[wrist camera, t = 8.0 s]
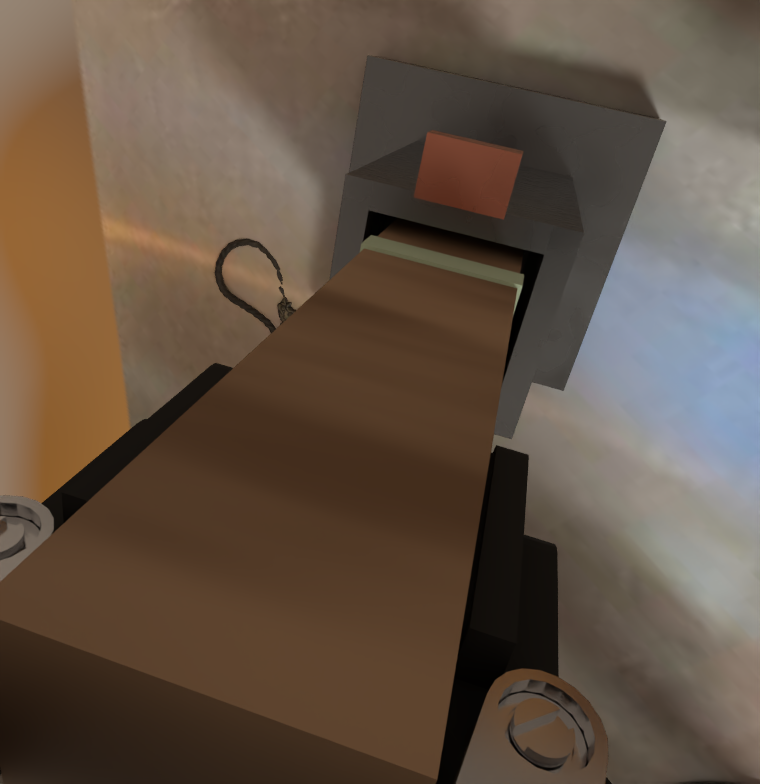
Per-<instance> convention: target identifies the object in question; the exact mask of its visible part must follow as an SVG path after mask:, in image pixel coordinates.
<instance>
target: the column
mask: <svg viewBox="0 0 760 784" xmlns="http://www.w3.org/2000/svg"><path fill="white" fill-rule="evenodd" d="M523 252H524V249H520V248H516V247H512V246H508V245H504V244H500V243H496V242H492V241H488V240H484V239H480V238H476V237H472V236H468V235H464V234H461V233H457V232H453V231H449V230H445V229H441V228H437V227H433V226H429V225H425V224H421V223H417V222H413V221H409V220H405V219H401V218H397V219H396V220H395V221H394V222H393V223H392V224H390V225H389V226H388V227H387V228H386V229H385V230H384V231H383V232H382V233H381V234H379V235H378V236H373V235H371V236H369V237H368V238H367V239H366V240H365V241H364V242H363V243H361V248H360V253H359V254H358V255H357V256H355V257H354V258H353V259H352V260H351V261H350V262H349V263H348V264H347V265H346V266H345V267H343V268H342V269H341V270H340V271H339V272H338V273H337V274H336V275H335V276H334V277H333V278H331V279H330V280H329V281H328V282H327V283H326V284H325V285H324V286H323V287H322V288H320V289H319V290H318V291H317V292H316V293H315V294H314V295H313V296H312V297H311V298H310V299H308V300H307V301H306V302H305V303H304V304H303V305H302V306H301V307H300V308H299V309H298V310H296V311H295V312H294V313H293V314H292V315H291V316H290V317H289V318H288V319H287V320H286V321H284V322H283V323H282V324H281V325H280V326H279V327H278V328H277V329H276V330H275V331H274V332H272V333H271V334H270V335H269V336H268V337H267V338H266V339H265V340H264V341H263V342H261V343H260V344H259V345H258V346H257V347H256V348H255V349H254V350H253V351H252V352H251V353H249V354H248V355H247V356H246V357H245V358H244V359H243V360H242V361H241V362H240V363H239V364H237V365H236V366H235V367H234V368H233V369H232V370H231V371H230V372H229V373H228V374H227V375H225V376H224V377H223V378H222V379H221V380H220V381H219V382H218V383H217V384H216V385H214V386H213V387H212V388H211V389H210V390H209V391H208V392H207V393H206V394H205V395H204V396H202V397H201V398H200V399H199V400H198V401H197V402H196V403H195V404H194V405H193V406H192V407H190V408H189V409H188V410H187V411H186V412H185V413H184V414H183V415H182V416H181V417H180V418H178V419H177V420H176V421H175V422H174V423H173V424H172V425H171V426H170V427H169V428H168V429H166V430H165V431H164V432H163V433H162V434H161V435H160V436H159V437H158V438H157V439H155V440H154V441H153V442H152V443H151V444H150V445H149V446H148V447H147V448H146V449H145V450H143V451H142V452H141V453H140V454H139V455H138V456H137V457H136V458H135V459H134V460H133V461H131V462H130V463H129V464H128V465H127V466H126V467H125V468H124V469H123V470H122V471H121V472H119V473H118V474H117V475H116V476H115V477H114V478H113V479H112V480H111V481H110V482H109V483H107V484H106V485H105V486H104V487H103V488H102V489H101V490H100V491H99V492H98V493H96V494H95V495H94V496H93V497H92V498H91V499H90V500H89V501H88V502H87V503H86V504H84V505H83V506H82V507H81V508H80V509H79V510H78V511H77V512H76V513H75V514H74V515H72V516H71V517H70V518H69V519H68V520H67V521H66V522H65V523H64V524H63V525H62V526H60V527H59V528H58V529H57V530H56V531H55V532H54V533H53V534H52V535H51V536H49V537H48V538H47V539H46V540H45V541H44V542H43V543H42V544H41V545H40V546H39V547H37V548H36V549H35V550H34V551H33V552H32V553H31V554H30V555H29V556H28V557H27V558H25V559H24V560H23V561H22V562H21V563H20V564H19V565H18V566H17V567H16V568H15V569H13V570H12V571H11V572H10V573H9V574H8V575H7V576H6V577H5V578H4V579H3V580H1V581H0V768H1V774H2V779H3V784H436V782H437V778H438V772H439V766H440V760H441V754H442V748H443V742H444V735H445V729H446V723H447V717H448V711H449V705H450V699H451V693H452V686H453V680H454V674H455V668H456V662H457V656H458V650H459V644H460V637H461V631H462V625H463V619H464V613H465V607H466V601H467V595H468V588H469V582H470V576H471V570H472V564H473V558H474V552H475V546H476V539H477V533H478V527H479V521H480V515H481V509H482V503H483V497H484V491H485V484H486V478H487V472H488V466H489V460H490V454H491V448H492V442H493V435H494V429H495V423H496V417H497V411H498V405H499V399H500V393H501V386H502V380H503V374H504V368H505V362H506V356H507V350H508V344H509V337H510V331H511V325H512V319H513V315H514V311H515V308H516V305H517V302H518V299H519V296H520V292H521V289H522V286H523V280H524V274H520V270H521V264H522V258H523Z"/></svg>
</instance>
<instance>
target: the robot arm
mask: <svg viewBox="0 0 760 784" xmlns="http://www.w3.org/2000/svg"><path fill="white" fill-rule="evenodd" d="M232 369H233V368H231V367H228V366H225V365H221V364H218V363H214V364H213V365H211V366H210V367H209V368H207V369H206V370H205V371H204V372H203V373H202V374H200V375H199V376H198V377H197V378H196V379H194V380H193V381H192V382H191V383H190V384H189V385H187V386H186V387H185V388H184V389H183V390H182V391H180V392H179V393H178V394H177V395H176V396H174V397H173V398H172V399H171V400H170V401H169V402H167V403H166V404H165V405H164V406H163V407H161V408H160V409H159V410H158V411H157V412H156V413H154V414H153V415H152V416H151V417H150V418H148V419H144V420H142V421H140V422H139V423H137V424H136V425H135V426H134V427H132V428H131V429H130V430H129V431H128V432H126V433H125V434H124V435H123V436H122V437H120V438H119V439H118V440H117V441H116V442H114V443H113V444H112V445H111V446H110V447H108V448H107V449H106V450H105V451H104V452H102V453H101V454H100V455H99V456H98V457H96V458H95V459H94V460H93V461H92V462H90V463H89V464H88V465H87V466H86V467H84V468H83V469H82V470H81V471H80V472H79V473H77V474H76V475H75V476H74V477H73V478H71V479H70V480H69V481H68V482H67V483H65V484H64V485H63V486H62V487H61V488H60V489H58V490H57V491H56V492H55V493H53V494H52V495H51V496H50V497H49V498H47V499H46V500H45V501H44V502H43V503H40V502H38V501H36V500H32V499H29V498H26V497H23V496H10V495H3V496H0V581H1V580H3V579H4V578H5V577H6V576H7V575H8V574H9V573H10V572H11V571H12V570H13V569H15V568H16V567H17V566H18V565H19V564H20V563H21V562H22V561H23V560H24V559H25V558H27V557H28V556H29V555H30V554H31V553H32V552H33V551H34V550H35V549H36V548H37V547H39V546H40V545H41V544H42V543H43V542H44V541H45V540H46V539H47V538H48V537H49V536H51V535H52V534H53V533H54V532H55V531H56V530H57V529H58V528H59V527H60V526H62V525H63V524H64V523H65V522H66V521H67V520H68V519H69V518H70V517H71V516H72V515H74V514H75V513H76V512H77V511H78V510H79V509H80V508H81V507H82V506H83V505H84V504H86V503H87V502H88V501H89V500H90V499H91V498H92V497H93V496H94V495H95V494H96V493H98V492H99V491H100V490H101V489H102V488H103V487H104V486H105V485H106V484H107V483H109V482H110V481H111V480H112V479H113V478H114V477H115V476H116V475H117V474H118V473H119V472H121V471H122V470H123V469H124V468H125V467H126V466H127V465H128V464H129V463H130V462H131V461H133V460H134V459H135V458H136V457H137V456H138V455H139V454H140V453H141V452H142V451H143V450H145V449H146V448H147V447H148V446H149V445H150V444H151V443H152V442H153V441H154V440H155V439H157V438H158V437H159V436H160V435H161V434H162V433H163V432H164V431H165V430H166V429H168V428H169V427H170V426H171V425H172V424H173V423H174V422H175V421H176V420H177V419H178V418H180V417H181V416H182V415H183V414H184V413H185V412H186V411H187V410H188V409H189V408H190V407H192V406H193V405H194V404H195V403H196V402H197V401H198V400H199V399H200V398H201V397H202V396H204V395H205V394H206V393H207V392H208V391H209V390H210V389H211V388H212V387H213V386H214V385H216V384H217V383H218V382H219V381H220V380H221V379H222V378H223V377H224V376H225V375H227V374H228V373H229V372H230V371H231V370H232ZM528 460H529V455H527V454H524V453H521V452H517V451H514V450H510V449H507V448H504V447H500V446H497V445H496V447H495V449H494V452H493V453H491V454H490V460H489V466H488V472H487V478H486V484H485V491H484V497H483V503H482V509H481V515H480V521H479V527H478V533H477V539H476V546H475V552H474V558H473V564H472V570H471V576H470V582H469V588H468V595H467V601H466V607H465V613H464V619H463V625H462V631H461V637H460V644H459V650H458V656H457V662H456V668H455V674H454V680H453V686H452V693H451V699H450V705H449V711H448V717H447V723H446V729H445V735H444V742H443V748H442V754H441V760H440V766H439V772H438V778H437V782H436V784H612V783H611V782H610V781H609V780H608V779H607V777H606V773H607V765H608V757H609V755H608V738H607V735H606V732H605V729H604V726H603V724H602V721H601V719H600V717H599V716H598V714H597V713H596V711H595V710H594V708H593V707H592V705H591V704H590V702H589V701H588V700H587V699H586V698H585V697H584V696H583V695H582V694H581V693H580V692H579V691H578V690H577V689H576V688H575V687H573V686H572V685H570V684H568V683H567V682H565V681H564V680H562V679H561V678H559V677H558V572H557V547H556V546H555V544H552V543H549V542H546V541H542V540H539V539H536V538H533V537H530V536H526V535H524V522H525V507H526V491H527V476H528ZM0 784H3V779H2V774H1V768H0Z"/></svg>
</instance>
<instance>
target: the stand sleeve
mask: <svg viewBox="0 0 760 784" xmlns="http://www.w3.org/2000/svg"><path fill="white" fill-rule="evenodd" d="M665 124H666V121H664V120H661V119H658V118H653V117H648V116H644V115H639V114H635V113H630V112H626V111H621V110H617V109H612V108H608V107H603V106H599V105H594V104H590V103H585V102H581V101H576V100H572V99H567V98H562V97H558V96H553V95H549V94H544V93H540V92H535V91H531V90H526V89H522V88H517V87H513V86H508V85H504V84H499V83H495V82H490V81H486V80H481V79H476V78H472V77H467V76H463V75H458V74H454V73H449V72H445V71H440V70H436V69H431V68H427V67H422V66H418V65H413V64H409V63H404V62H400V61H395V60H390V59H386V58H381V57H377V56H367V62H366V69H365V75H364V81H363V88H362V94H361V100H360V107H359V113H358V119H357V126H356V132H355V138H354V145H353V151H352V157H351V164H350V170H349V173H348V174H346V177H345V184H344V190H343V197H342V203H341V209H340V216H339V222H338V229H337V235H336V241H335V248H334V254H333V261H332V267H331V274H330V279H331V278H333V277H334V276H335V275H336V274H337V273H338V272H339V271H340V270H341V269H342V268H343V267H345V266H346V265H347V264H348V263H349V262H350V261H351V260H352V259H353V258H354V257H355V256H357V255H358V254H359V253H360V248H361V243H363V242H364V241H365V240H366V239H367V238H368V237H369V236H371V235H373V236H378V235H379V234H381V233H382V232H383V231H384V230H385V229H386V228H387V227H388V226H389V225H390V224H392V223H393V222H394V221H395V220H396V219H397V218H401V219H405V220H409V221H413V222H417V223H421V224H425V225H429V226H433V227H437V228H441V229H445V230H449V231H453V232H457V233H461V234H464V235H468V236H472V237H476V238H480V239H484V240H488V241H492V242H496V243H500V244H504V245H508V246H512V247H516V248H520V249H524V252H523V258H522V264H521V270H520V274H524V280H523V286H522V289H521V292H520V296H519V299H518V302H517V305H516V308H515V311H514V315H513V319H512V325H511V331H510V337H509V344H508V350H507V356H506V362H505V368H504V374H503V380H502V386H501V393H500V399H499V405H498V411H497V417H496V423H495V429H494V434H496V435H499V436H503V437H506V438H509V439H512V437H513V434H514V431H515V428H516V426H517V423H518V420H519V417H520V414H521V411H522V408H523V406H524V403H525V400H526V397H527V394H528V391H529V389H530V386H531V383H532V382H534V383H537V384H541V385H545V386H548V387H552V388H555V389H559V390H562V391H564V388H565V385H566V383H567V380H568V378H569V375H570V372H571V370H572V367H573V365H574V362H575V359H576V357H577V354H578V351H579V349H580V346H581V344H582V341H583V338H584V336H585V333H586V331H587V328H588V325H589V323H590V320H591V317H592V315H593V312H594V310H595V307H596V304H597V302H598V299H599V297H600V294H601V291H602V289H603V286H604V283H605V281H606V278H607V276H608V273H609V270H610V268H611V265H612V263H613V260H614V257H615V255H616V252H617V249H618V247H619V244H620V242H621V239H622V236H623V234H624V231H625V229H626V226H627V223H628V221H629V218H630V215H631V213H632V210H633V208H634V205H635V202H636V200H637V197H638V195H639V192H640V189H641V187H642V184H643V181H644V179H645V176H646V174H647V171H648V168H649V166H650V163H651V161H652V158H653V155H654V153H655V150H656V147H657V145H658V142H659V140H660V137H661V134H662V132H663V129H664V127H665Z"/></svg>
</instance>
